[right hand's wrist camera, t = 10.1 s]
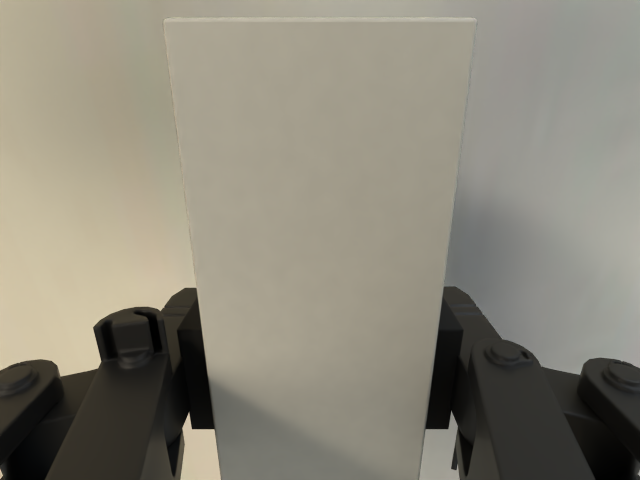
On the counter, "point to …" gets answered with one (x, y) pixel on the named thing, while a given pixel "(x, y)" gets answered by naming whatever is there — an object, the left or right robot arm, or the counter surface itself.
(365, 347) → the beam
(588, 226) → the counter surface
